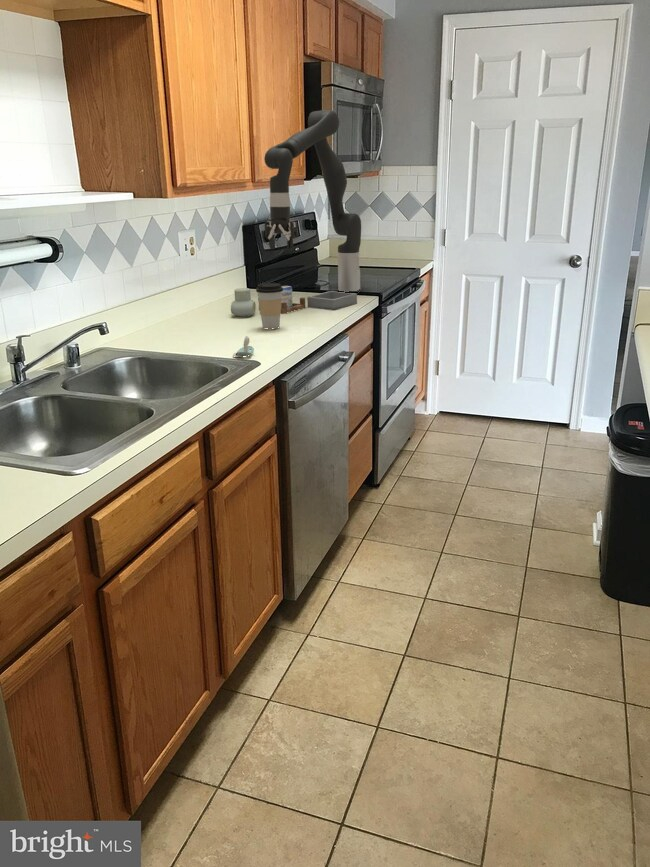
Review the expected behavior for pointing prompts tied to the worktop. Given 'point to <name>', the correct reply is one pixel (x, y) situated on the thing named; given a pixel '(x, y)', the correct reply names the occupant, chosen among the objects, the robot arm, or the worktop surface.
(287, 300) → the medicine box
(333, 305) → the tray
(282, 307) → the holder
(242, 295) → the air freshener
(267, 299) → the coffee cup
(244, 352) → the pacifier
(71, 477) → the worktop surface
